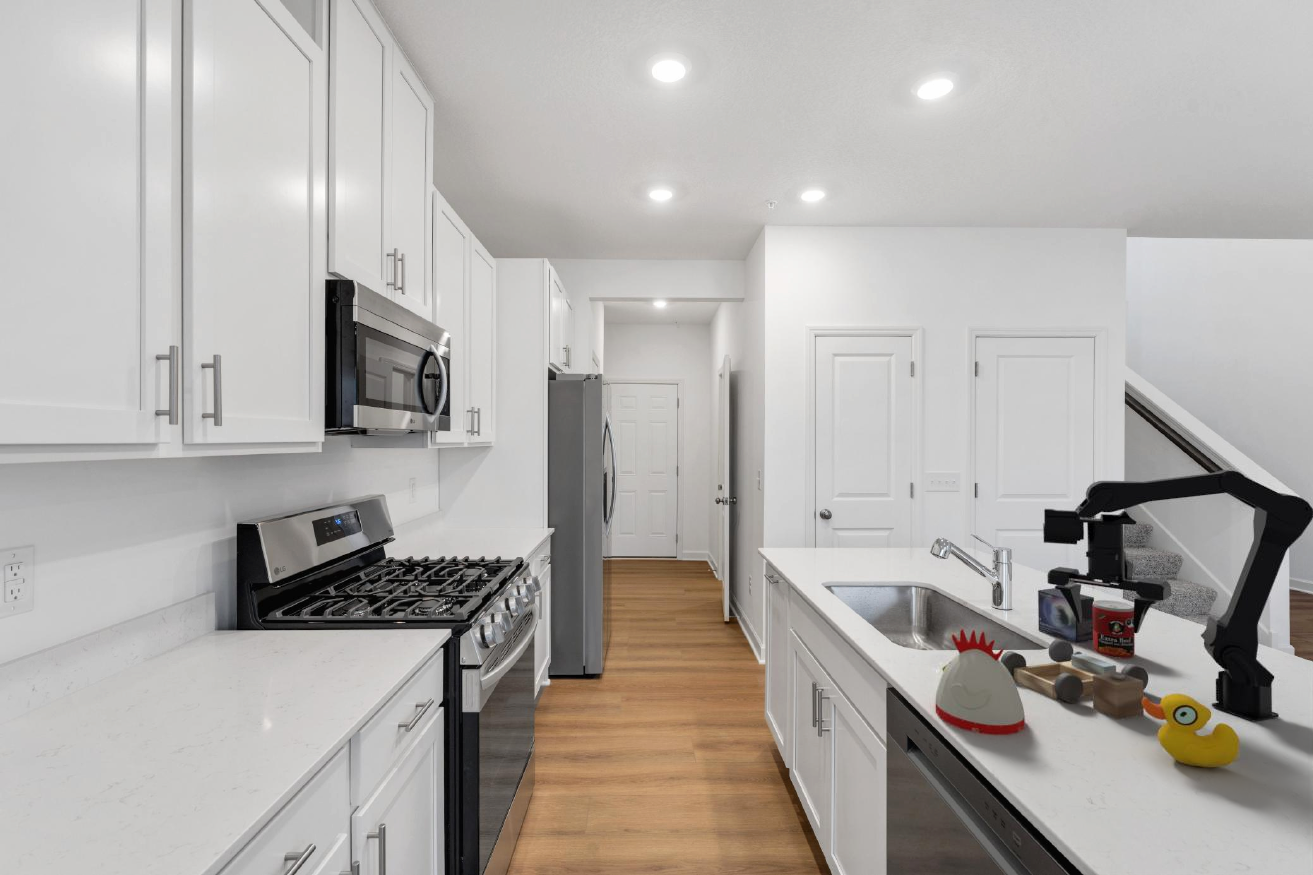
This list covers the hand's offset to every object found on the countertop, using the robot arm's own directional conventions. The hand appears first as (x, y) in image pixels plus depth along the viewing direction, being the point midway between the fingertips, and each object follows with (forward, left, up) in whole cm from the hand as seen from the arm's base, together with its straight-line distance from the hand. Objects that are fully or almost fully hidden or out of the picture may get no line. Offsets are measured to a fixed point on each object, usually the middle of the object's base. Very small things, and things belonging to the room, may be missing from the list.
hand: (1107, 627), depth 120 cm
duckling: (-24, +14, -12) cm, 31 cm away
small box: (+29, -23, -12) cm, 39 cm away
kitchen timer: (-2, +32, -12) cm, 35 cm away
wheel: (+14, -4, -12) cm, 19 cm away
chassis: (+4, +4, -12) cm, 14 cm away
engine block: (-8, +7, -12) cm, 16 cm away
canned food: (+16, -22, -12) cm, 29 cm away
